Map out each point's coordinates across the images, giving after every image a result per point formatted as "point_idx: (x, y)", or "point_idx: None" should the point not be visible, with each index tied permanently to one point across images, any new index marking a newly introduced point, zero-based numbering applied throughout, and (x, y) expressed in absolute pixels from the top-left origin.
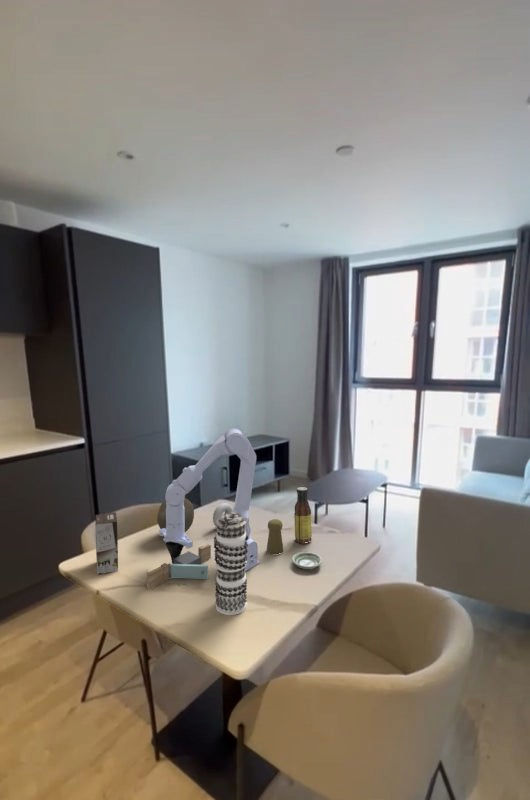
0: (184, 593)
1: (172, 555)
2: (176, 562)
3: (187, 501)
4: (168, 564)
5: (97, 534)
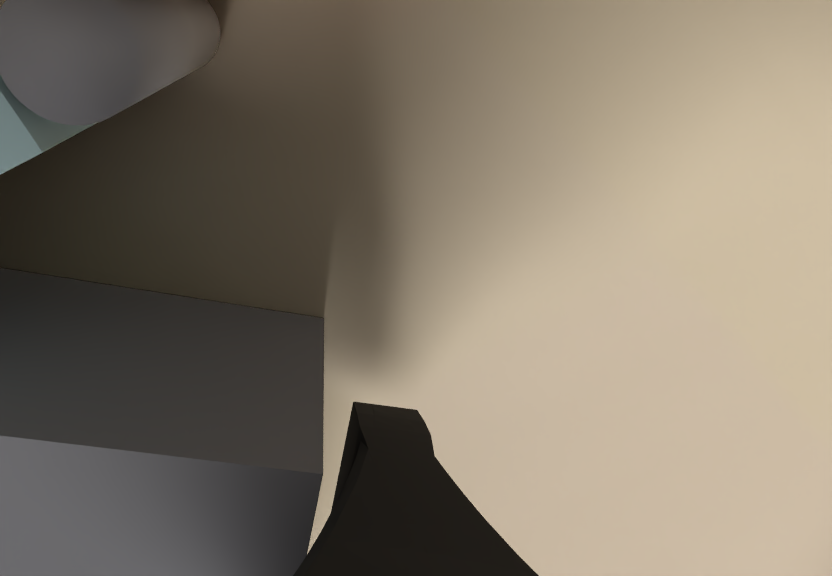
0: None
1: (361, 531)
2: (176, 411)
3: None
4: (73, 29)
5: None
